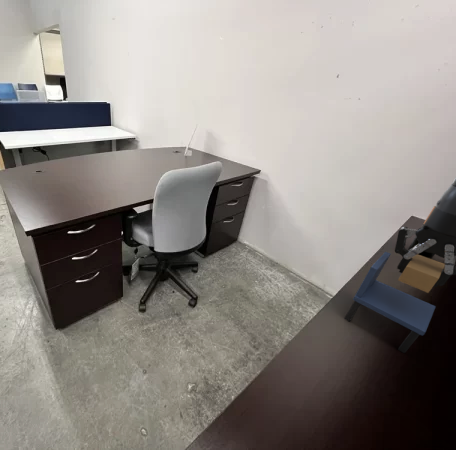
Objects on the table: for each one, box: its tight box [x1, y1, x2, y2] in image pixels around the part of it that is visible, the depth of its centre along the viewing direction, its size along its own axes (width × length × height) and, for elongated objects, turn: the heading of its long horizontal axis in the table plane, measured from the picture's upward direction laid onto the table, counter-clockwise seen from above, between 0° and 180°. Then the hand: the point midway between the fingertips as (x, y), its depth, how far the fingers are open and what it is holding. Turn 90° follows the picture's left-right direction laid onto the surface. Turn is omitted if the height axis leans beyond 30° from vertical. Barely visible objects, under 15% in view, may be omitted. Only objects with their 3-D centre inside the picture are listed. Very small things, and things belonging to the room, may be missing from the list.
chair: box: [344, 251, 437, 354], centre depth 59 cm, size 13×13×17 cm
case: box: [397, 254, 445, 294], centre depth 55 cm, size 5×9×4 cm, turn 126°
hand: (417, 277), depth 55 cm, fingers closed on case, 5 cm apart
